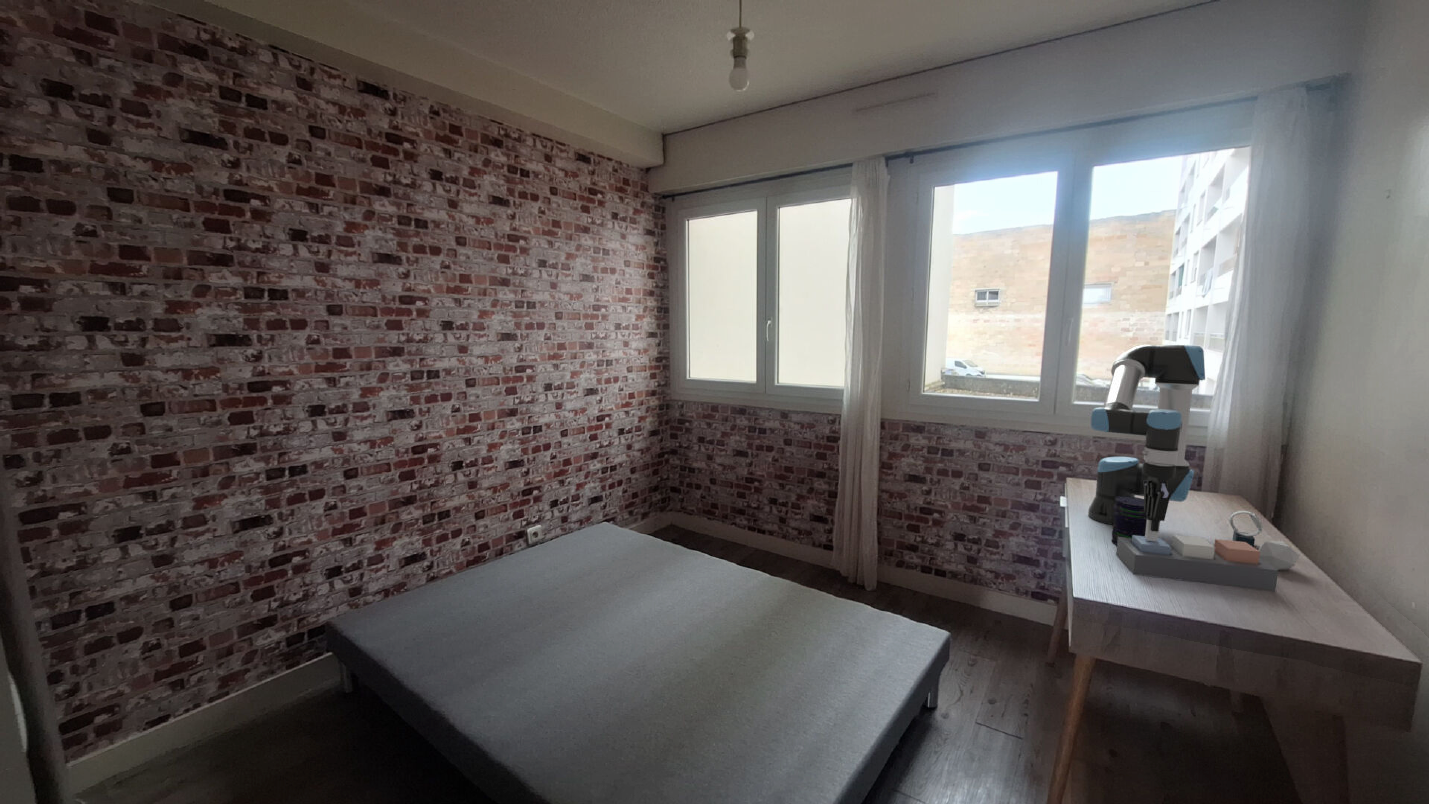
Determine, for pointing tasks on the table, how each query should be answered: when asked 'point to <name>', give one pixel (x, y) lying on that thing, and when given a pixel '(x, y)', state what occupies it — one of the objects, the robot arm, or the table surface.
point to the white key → (1193, 547)
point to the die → (1278, 555)
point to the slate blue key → (1150, 545)
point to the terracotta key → (1236, 551)
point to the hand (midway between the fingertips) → (1151, 540)
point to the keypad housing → (1197, 568)
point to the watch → (1241, 535)
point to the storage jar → (1128, 518)
